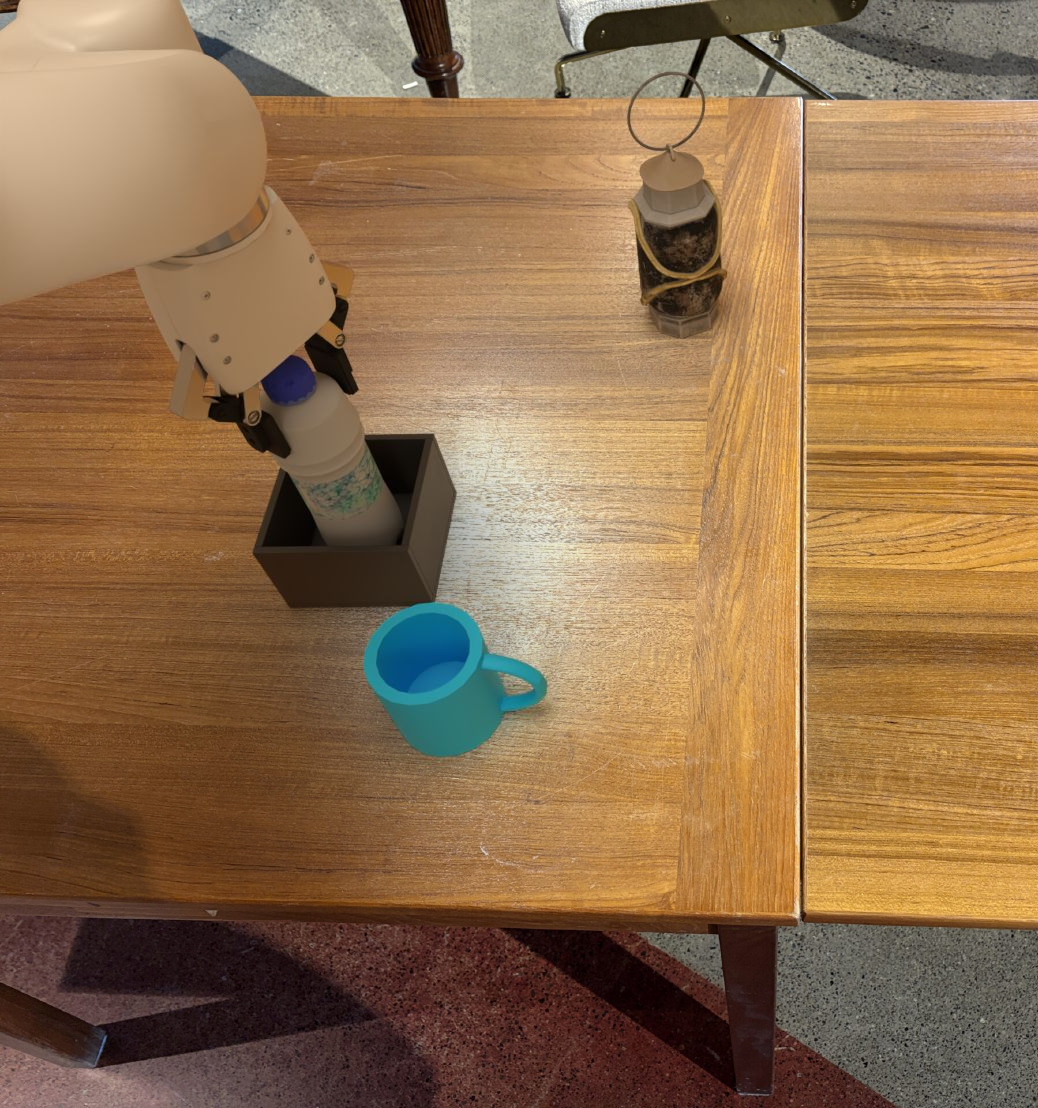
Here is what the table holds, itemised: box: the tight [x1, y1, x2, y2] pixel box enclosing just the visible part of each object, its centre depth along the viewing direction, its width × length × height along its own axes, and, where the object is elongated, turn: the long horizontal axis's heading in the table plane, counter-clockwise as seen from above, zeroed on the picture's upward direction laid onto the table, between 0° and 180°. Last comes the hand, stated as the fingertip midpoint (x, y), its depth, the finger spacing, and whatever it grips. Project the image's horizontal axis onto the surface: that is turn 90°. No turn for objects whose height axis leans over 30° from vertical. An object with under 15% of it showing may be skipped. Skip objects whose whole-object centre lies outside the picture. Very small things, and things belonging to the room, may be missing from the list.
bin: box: [252, 432, 457, 609], centre depth 86 cm, size 12×12×8 cm
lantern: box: [626, 70, 728, 339], centre depth 94 cm, size 9×8×25 cm
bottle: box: [259, 354, 404, 546], centre depth 80 cm, size 7×7×20 cm
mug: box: [362, 601, 548, 758], centre depth 77 cm, size 12×8×8 cm
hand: (306, 415), depth 76 cm, fingers closed on bottle, 6 cm apart
